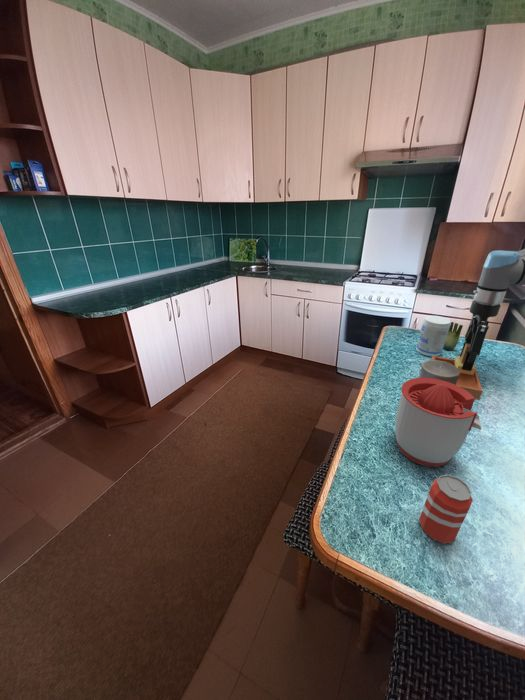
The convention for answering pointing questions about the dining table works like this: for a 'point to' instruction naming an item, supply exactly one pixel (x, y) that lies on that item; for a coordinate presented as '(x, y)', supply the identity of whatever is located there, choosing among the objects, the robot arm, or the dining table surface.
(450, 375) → the pillar candle
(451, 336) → the fennel bulb
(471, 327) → the robot arm
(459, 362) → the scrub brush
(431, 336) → the supplement tub
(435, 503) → the beverage can
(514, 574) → the dining table surface
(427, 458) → the citrus juicer
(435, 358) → the orange brown tray
